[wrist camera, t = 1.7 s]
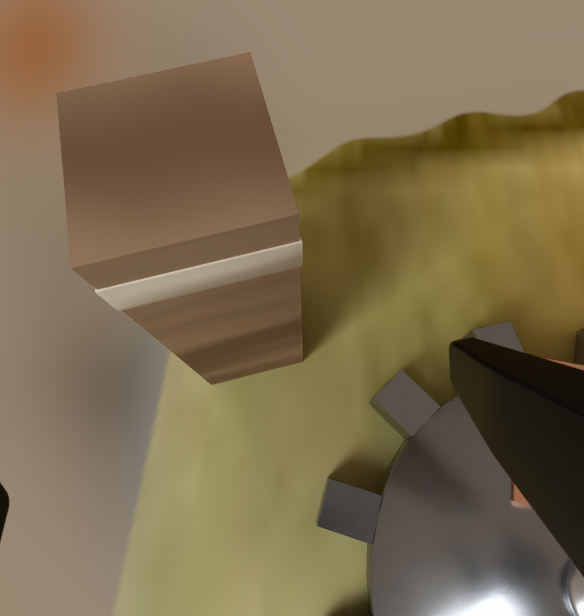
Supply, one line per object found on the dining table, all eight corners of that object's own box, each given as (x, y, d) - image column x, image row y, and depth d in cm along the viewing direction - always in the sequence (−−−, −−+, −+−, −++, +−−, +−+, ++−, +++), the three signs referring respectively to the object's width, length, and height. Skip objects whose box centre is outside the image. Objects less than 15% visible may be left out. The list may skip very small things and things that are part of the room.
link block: (304, 362, 21) (302, 215, 8) (210, 386, 20) (68, 271, 8) (281, 277, 22) (252, 50, 10) (194, 298, 22) (54, 92, 10)
